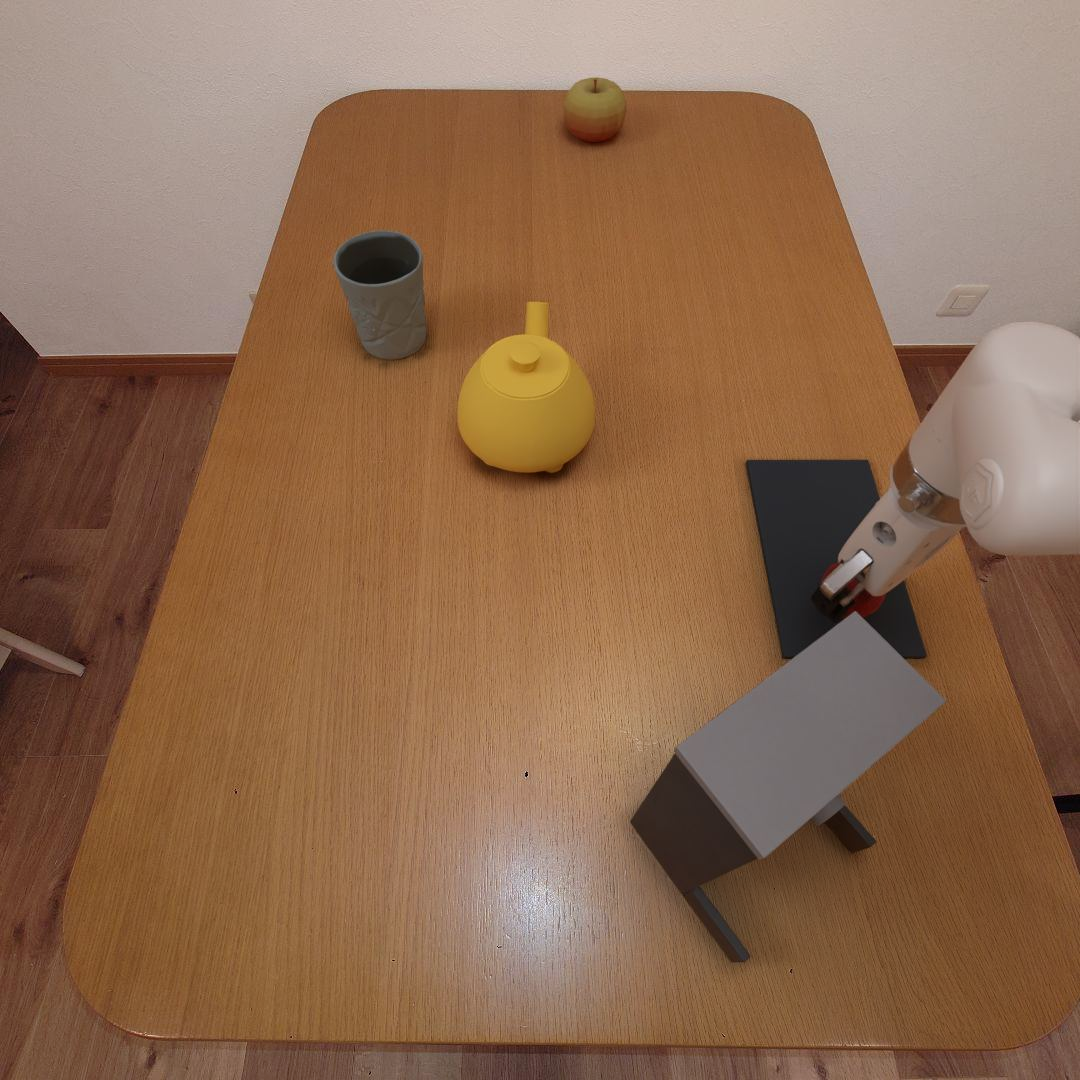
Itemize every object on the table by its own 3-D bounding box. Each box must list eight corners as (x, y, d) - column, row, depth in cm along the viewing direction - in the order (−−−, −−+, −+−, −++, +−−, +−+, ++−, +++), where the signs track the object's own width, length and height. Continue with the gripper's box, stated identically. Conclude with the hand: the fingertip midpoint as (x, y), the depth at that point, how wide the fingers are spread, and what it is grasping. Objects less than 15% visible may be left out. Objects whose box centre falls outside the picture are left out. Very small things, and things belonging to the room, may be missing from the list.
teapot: (480, 355, 91) (471, 264, 79) (602, 368, 90) (611, 278, 78) (448, 483, 81) (433, 400, 69) (585, 498, 80) (594, 417, 68)
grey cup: (342, 352, 91) (317, 274, 81) (376, 300, 96) (357, 221, 86) (415, 371, 89) (399, 294, 79) (446, 318, 94) (435, 238, 84)
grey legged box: (859, 847, 61) (1033, 785, 40) (730, 964, 57) (848, 964, 36) (752, 724, 67) (855, 610, 45) (627, 821, 62) (675, 746, 41)
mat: (924, 658, 70) (927, 656, 70) (782, 658, 70) (784, 656, 70) (866, 462, 83) (868, 459, 82) (745, 462, 82) (746, 459, 82)
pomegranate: (864, 638, 71) (899, 603, 64) (805, 621, 72) (834, 585, 65) (870, 589, 73) (904, 550, 67) (813, 573, 74) (842, 533, 68)
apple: (595, 110, 120) (598, 58, 113) (635, 135, 116) (641, 83, 109) (550, 131, 117) (551, 79, 110) (590, 158, 113) (594, 106, 106)
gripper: (912, 569, 49) (826, 663, 64) (1062, 455, 54) (951, 566, 69) (830, 496, 52) (766, 601, 67) (980, 395, 57) (890, 513, 72)
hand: (860, 583), depth 68 cm, fingers open, 9 cm apart
